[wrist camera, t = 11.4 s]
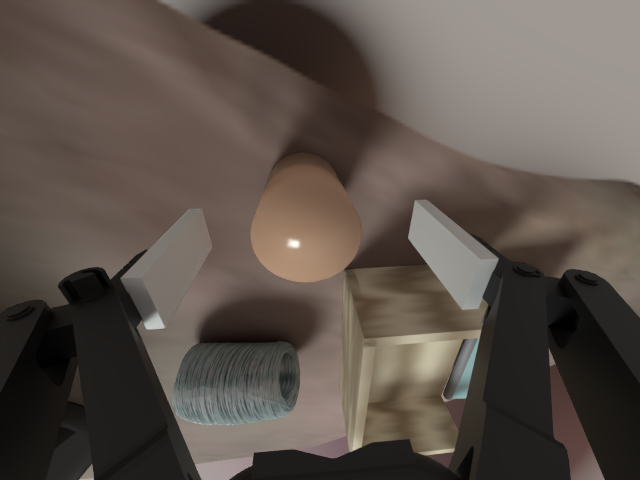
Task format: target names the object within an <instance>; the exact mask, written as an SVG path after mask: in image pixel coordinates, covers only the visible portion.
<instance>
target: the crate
mask: <svg viewBox="0 0 640 480" xmlns="http://www.w3.org/2000/svg"><path fill="white" fill-rule="evenodd" d="M487 307H488V304H487V302H486V301H485V300H484V299H482V301H481V304H480V306H479V309H467V310H462V309H461V308H460V306H459V305H458V304H457V302H456V301H455V300H454V298H453V297H452V296H451V294H450V293H449V292H448V290H447V289H446V288H445V286H444V285H443V284H442V282H441V281H440V280H439V279H438V277H437V276H436V275H435V273H434V272H433V271H432V269H431V268H430V267H429V265H428V264H424V265H408V266H391V267H375V268H359V269H345V273H344V298H343V323H342V347H341V372H340V392H341V399H342V406H343V412H344V419H345V425H346V432H347V439H348V445H349V451H350V452H352V451H354V450H356V449H358V448H361V447H363V446H365V445H367V444H370V443H372V442H382V441H393V440H404V439H410V442H411V446H412V449H413V452H417V453H420V454H423V455H431V454H440V453H449V452H454V450H455V446H456V442H457V437H458V433H459V432H458V430H457V428H456V426H455V424H454V422H453V420H452V418H451V416H450V414H449V412H448V410H447V407H446V405H445V403H444V401H443V399H442V397H441V395H442V392H443V390H444V387H445V385H446V382H447V380H448V377H449V374H450V372H451V369H452V367H453V364H454V362H455V359H456V357H457V354H458V352H459V349H460V346H461V344H462V341H463V339H473V338H480V334H481V330H482V325H483V324H482V323H481V321H482V318H483V316H484V314H485V311H486V309H487Z"/></svg>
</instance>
